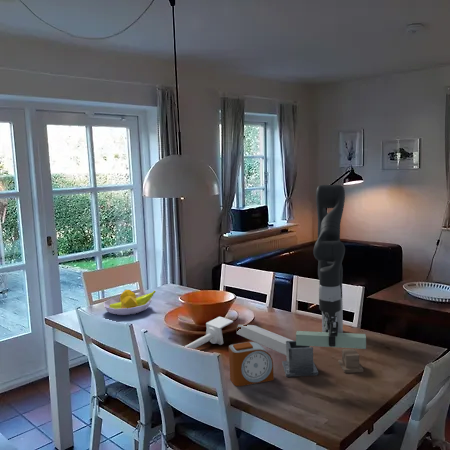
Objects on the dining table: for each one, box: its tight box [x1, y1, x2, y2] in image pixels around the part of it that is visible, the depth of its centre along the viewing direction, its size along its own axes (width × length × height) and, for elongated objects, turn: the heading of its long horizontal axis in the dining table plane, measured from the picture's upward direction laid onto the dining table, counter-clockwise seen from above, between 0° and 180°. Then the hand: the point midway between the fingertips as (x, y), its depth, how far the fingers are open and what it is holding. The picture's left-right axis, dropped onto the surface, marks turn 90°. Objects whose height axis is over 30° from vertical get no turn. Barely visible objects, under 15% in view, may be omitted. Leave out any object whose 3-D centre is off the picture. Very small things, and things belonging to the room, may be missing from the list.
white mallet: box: [184, 315, 234, 350], centre depth 203 cm, size 9×9×32 cm
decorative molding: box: [236, 324, 294, 356], centre depth 207 cm, size 34×5×10 cm
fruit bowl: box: [103, 289, 156, 316], centre depth 258 cm, size 28×27×11 cm
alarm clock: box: [228, 341, 275, 387], centre depth 171 cm, size 15×8×14 cm, turn 106°
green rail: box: [295, 330, 367, 350], centre depth 165 cm, size 4×24×4 cm, turn 76°
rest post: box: [338, 348, 364, 374], centre depth 178 cm, size 9×7×6 cm
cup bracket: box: [281, 340, 319, 378], centre depth 178 cm, size 11×12×10 cm
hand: (330, 343), depth 165 cm, fingers closed on green rail, 4 cm apart
